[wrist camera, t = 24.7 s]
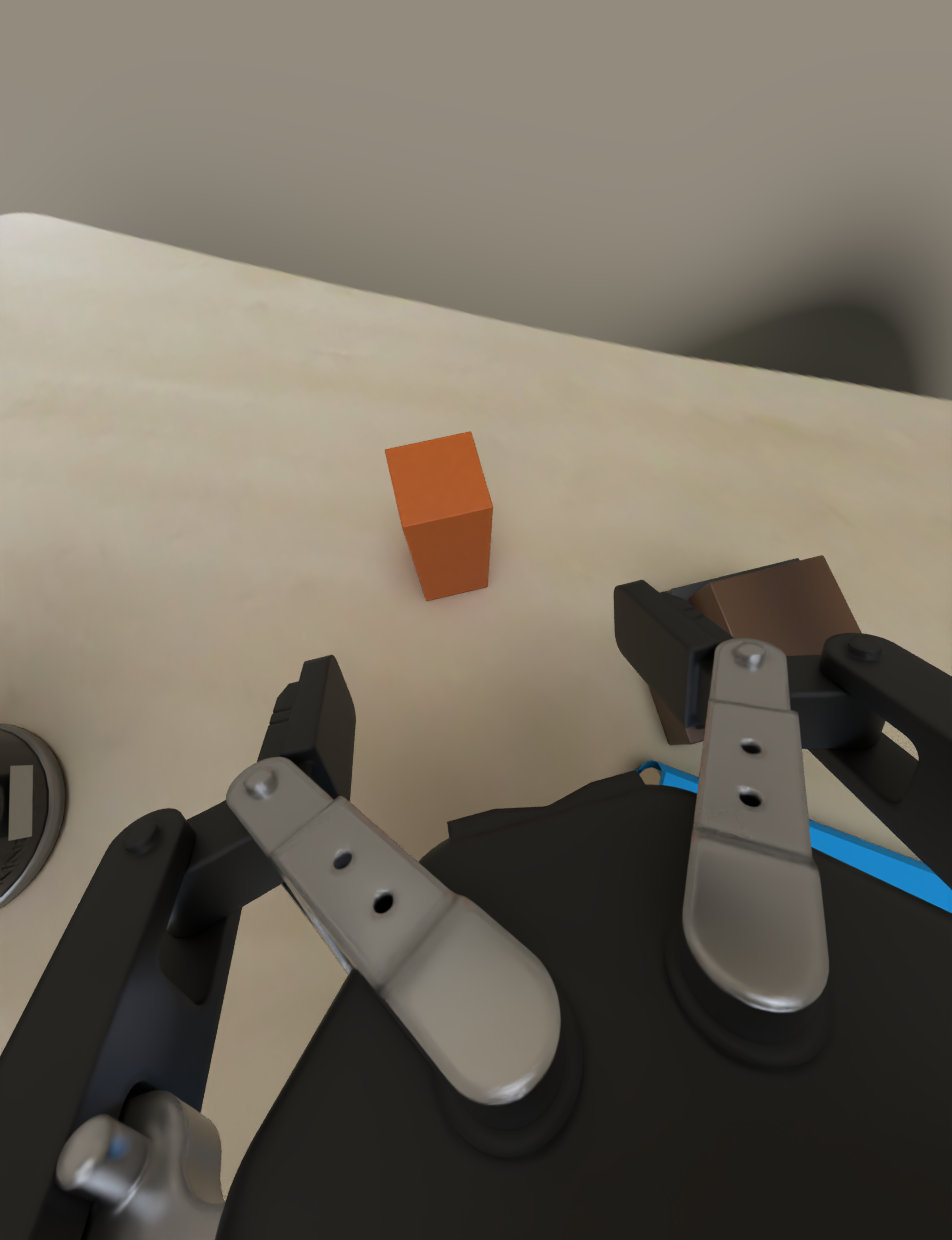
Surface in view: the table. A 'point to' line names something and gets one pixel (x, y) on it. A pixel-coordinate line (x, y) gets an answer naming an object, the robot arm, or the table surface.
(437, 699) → the table surface
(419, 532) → the bar
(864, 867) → the book
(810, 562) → the brown stepped pyramid
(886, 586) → the table surface
